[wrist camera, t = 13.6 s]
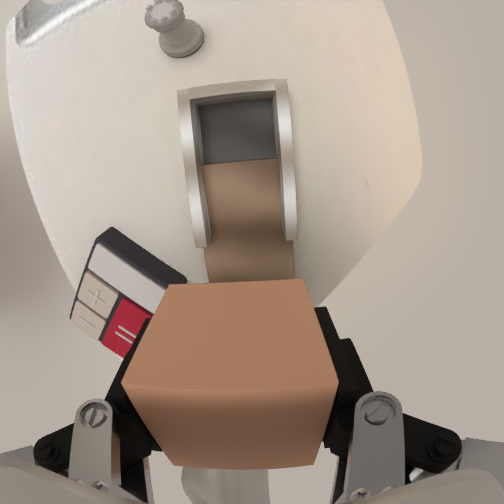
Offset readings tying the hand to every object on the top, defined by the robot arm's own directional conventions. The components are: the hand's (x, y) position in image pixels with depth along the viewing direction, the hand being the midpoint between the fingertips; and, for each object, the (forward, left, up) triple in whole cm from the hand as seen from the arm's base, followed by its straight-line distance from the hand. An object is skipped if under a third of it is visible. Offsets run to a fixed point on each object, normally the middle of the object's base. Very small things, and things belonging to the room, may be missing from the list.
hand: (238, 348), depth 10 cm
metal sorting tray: (+2, 0, -19) cm, 19 cm away
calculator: (-9, +16, -20) cm, 27 cm away
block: (0, 0, -1) cm, 1 cm away
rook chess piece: (+20, +5, -20) cm, 28 cm away
